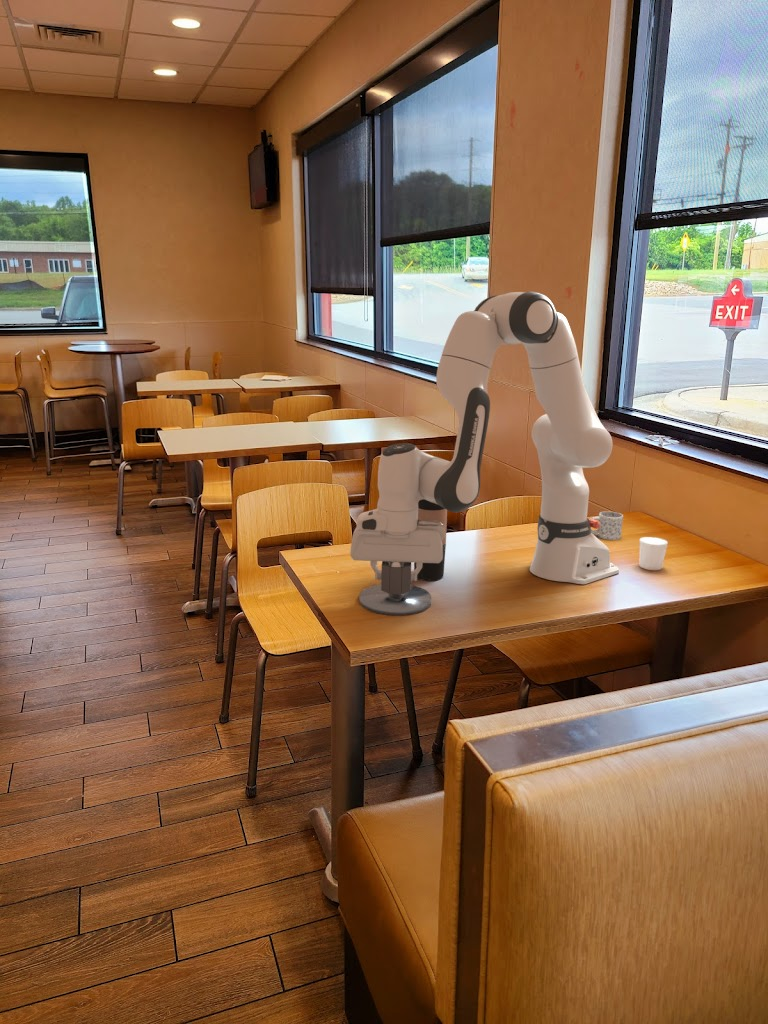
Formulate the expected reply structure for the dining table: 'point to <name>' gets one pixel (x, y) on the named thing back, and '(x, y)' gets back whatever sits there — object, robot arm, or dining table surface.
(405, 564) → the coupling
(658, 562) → the white short tapered cylinder
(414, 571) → the robot arm
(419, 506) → the travel mug
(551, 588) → the dining table surface
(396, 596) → the grey metal round base
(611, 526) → the mug
